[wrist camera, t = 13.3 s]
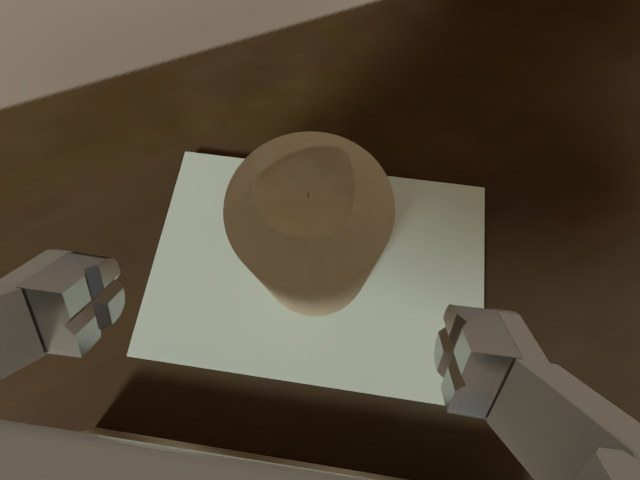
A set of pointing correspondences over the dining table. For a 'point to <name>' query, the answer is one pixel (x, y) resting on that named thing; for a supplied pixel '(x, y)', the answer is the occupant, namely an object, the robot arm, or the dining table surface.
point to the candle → (310, 219)
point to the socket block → (231, 453)
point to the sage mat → (312, 331)
